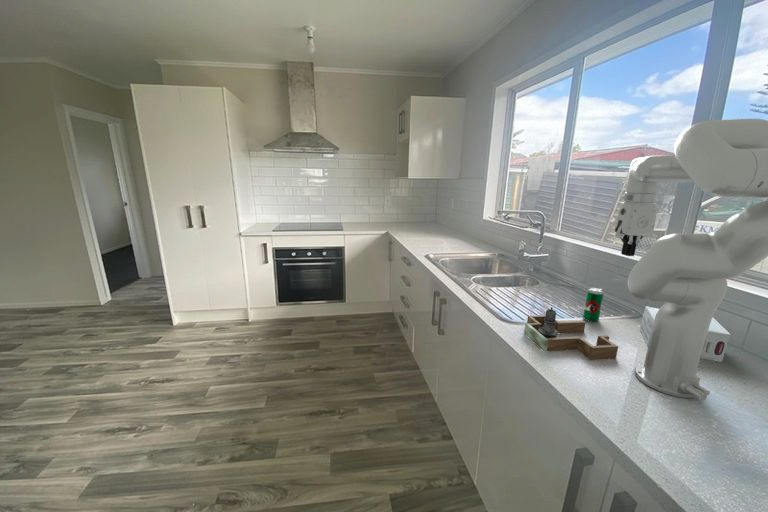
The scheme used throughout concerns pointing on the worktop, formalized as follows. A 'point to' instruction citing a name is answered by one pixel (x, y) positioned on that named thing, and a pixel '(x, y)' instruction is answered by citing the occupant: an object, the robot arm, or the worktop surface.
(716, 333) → the supplement box
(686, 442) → the worktop surface
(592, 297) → the soda can
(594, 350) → the wooden zigzag wall frame
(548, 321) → the stone chess piece
